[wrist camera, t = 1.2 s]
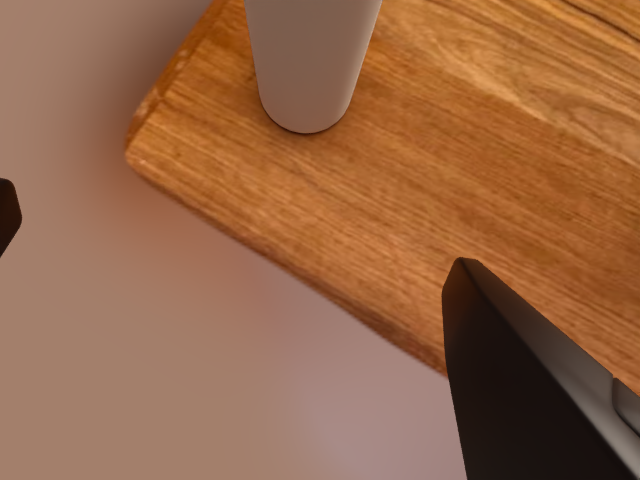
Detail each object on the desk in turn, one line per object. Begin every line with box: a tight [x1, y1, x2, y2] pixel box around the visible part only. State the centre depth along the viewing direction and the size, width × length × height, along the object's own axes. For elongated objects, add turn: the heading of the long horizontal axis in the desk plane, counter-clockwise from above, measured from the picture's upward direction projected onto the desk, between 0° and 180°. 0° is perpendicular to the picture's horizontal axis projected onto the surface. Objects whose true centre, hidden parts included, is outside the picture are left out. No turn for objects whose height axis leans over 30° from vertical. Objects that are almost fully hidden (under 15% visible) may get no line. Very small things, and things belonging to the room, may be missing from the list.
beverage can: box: [244, 0, 383, 133], centre depth 17 cm, size 5×5×12 cm
